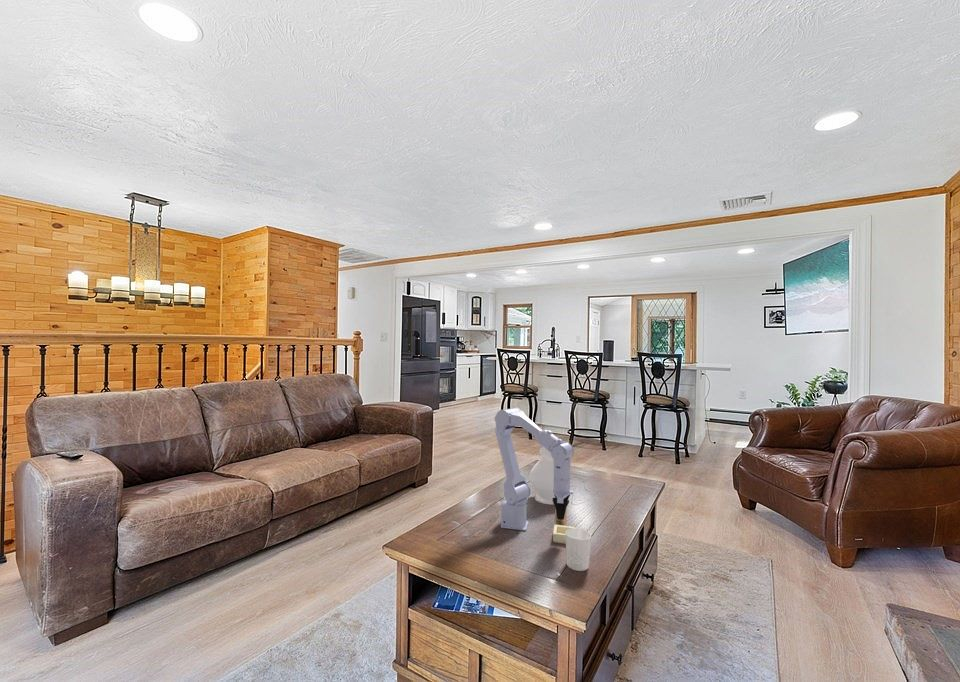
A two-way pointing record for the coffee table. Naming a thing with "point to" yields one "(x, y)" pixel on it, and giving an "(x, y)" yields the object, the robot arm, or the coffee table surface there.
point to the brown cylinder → (559, 521)
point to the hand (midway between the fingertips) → (560, 516)
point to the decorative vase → (543, 478)
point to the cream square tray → (560, 533)
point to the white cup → (578, 549)
